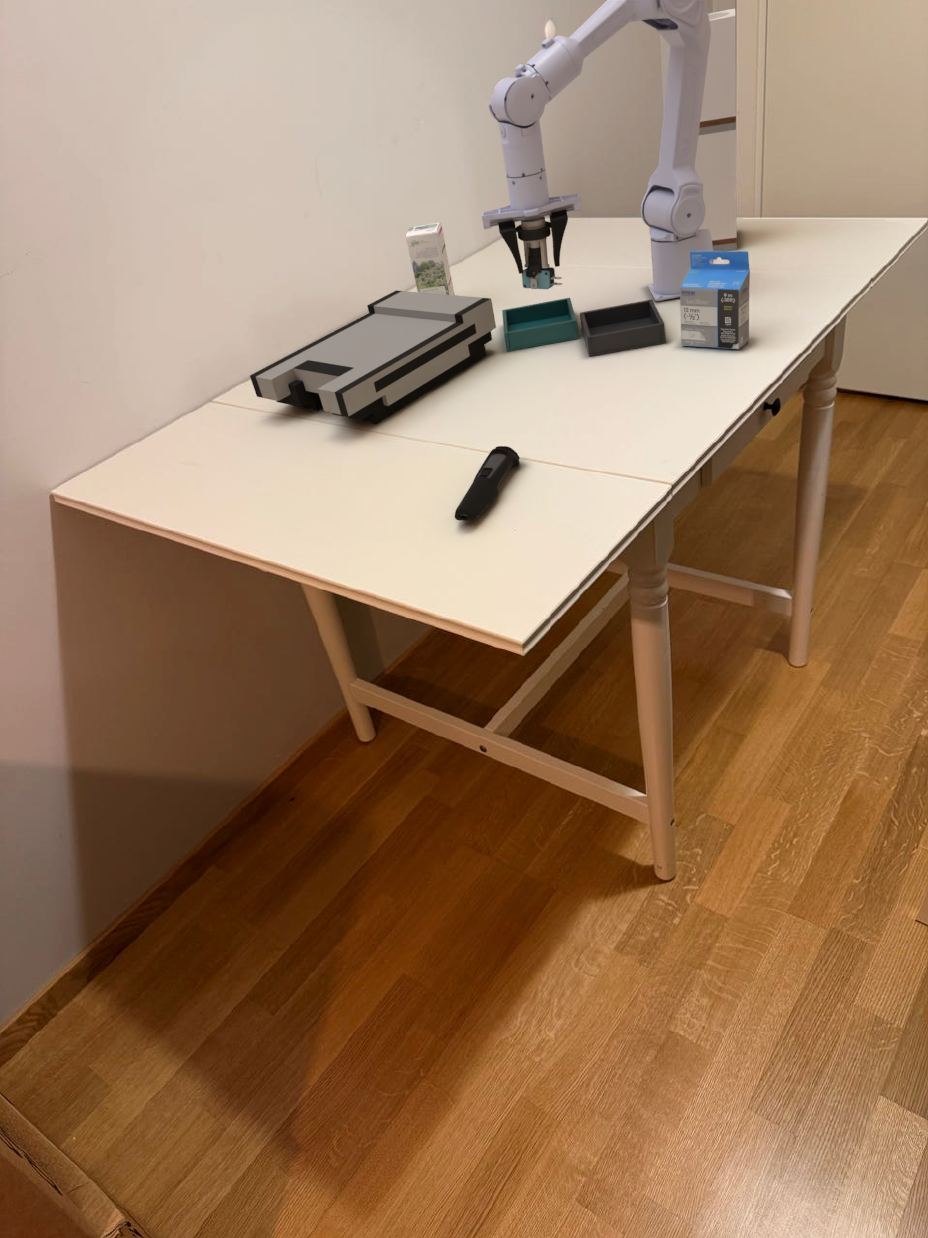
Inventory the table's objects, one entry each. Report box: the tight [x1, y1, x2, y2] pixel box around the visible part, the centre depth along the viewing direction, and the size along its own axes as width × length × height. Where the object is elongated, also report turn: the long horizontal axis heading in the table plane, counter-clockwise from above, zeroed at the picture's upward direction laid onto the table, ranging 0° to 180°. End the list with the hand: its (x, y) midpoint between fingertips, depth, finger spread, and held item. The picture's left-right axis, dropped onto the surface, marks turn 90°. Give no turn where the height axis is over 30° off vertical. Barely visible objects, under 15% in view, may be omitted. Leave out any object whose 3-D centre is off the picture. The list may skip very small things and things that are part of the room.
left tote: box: [501, 297, 579, 352], centre depth 144 cm, size 11×11×3 cm
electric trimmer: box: [454, 445, 521, 522], centre depth 105 cm, size 4×16×3 cm, turn 159°
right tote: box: [579, 299, 666, 357], centre depth 136 cm, size 11×11×3 cm
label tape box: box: [679, 250, 751, 350], centre depth 125 cm, size 9×4×12 cm, turn 53°
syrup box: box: [405, 222, 456, 295], centre depth 159 cm, size 6×6×14 cm
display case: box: [659, 8, 738, 251], centre depth 155 cm, size 11×11×35 cm
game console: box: [249, 290, 497, 425], centre depth 138 cm, size 21×32×8 cm, turn 139°
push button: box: [515, 216, 563, 290], centre depth 137 cm, size 7×5×10 cm
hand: (538, 268), depth 138 cm, fingers closed on push button, 5 cm apart
